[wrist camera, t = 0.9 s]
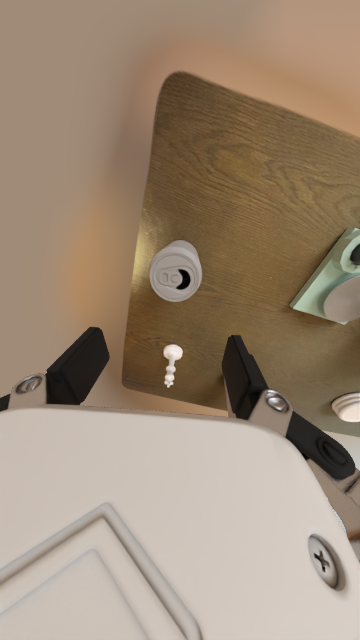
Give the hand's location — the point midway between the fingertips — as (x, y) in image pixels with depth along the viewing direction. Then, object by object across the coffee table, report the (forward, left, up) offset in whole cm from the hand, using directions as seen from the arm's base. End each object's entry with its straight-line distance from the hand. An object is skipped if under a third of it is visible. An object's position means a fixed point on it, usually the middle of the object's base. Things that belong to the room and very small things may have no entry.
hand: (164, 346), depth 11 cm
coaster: (+22, +60, -20) cm, 67 cm away
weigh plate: (-5, +30, -17) cm, 35 cm away
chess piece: (+19, +4, -20) cm, 28 cm away
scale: (-7, +29, -20) cm, 36 cm away
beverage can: (-2, -1, -20) cm, 21 cm away
